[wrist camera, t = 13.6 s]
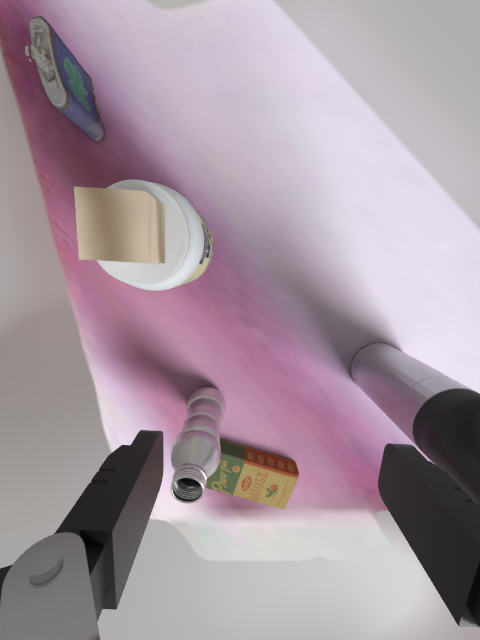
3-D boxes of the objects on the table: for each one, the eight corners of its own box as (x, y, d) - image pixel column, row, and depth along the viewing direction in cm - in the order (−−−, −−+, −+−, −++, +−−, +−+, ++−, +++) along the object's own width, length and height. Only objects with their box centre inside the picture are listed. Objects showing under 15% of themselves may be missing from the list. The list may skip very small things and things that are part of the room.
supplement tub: (226, 266, 43) (217, 267, 27) (160, 295, 44) (113, 313, 28) (194, 193, 41) (164, 145, 24) (126, 225, 42) (52, 200, 25)
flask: (107, 141, 39) (59, 96, 29) (89, 144, 39) (34, 101, 29) (90, 70, 38) (32, -6, 27) (70, 74, 38) (5, 0, 27)
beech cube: (165, 206, 26) (145, 190, 20) (165, 263, 27) (146, 263, 21) (108, 202, 25) (73, 186, 20) (111, 260, 27) (79, 259, 21)
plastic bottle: (192, 379, 48) (159, 460, 28) (229, 385, 48) (221, 470, 28) (188, 411, 49) (153, 509, 29) (223, 416, 49) (212, 517, 30)
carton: (281, 492, 53) (284, 512, 49) (205, 471, 52) (202, 489, 48) (295, 459, 51) (300, 476, 47) (217, 436, 50) (215, 452, 46)
